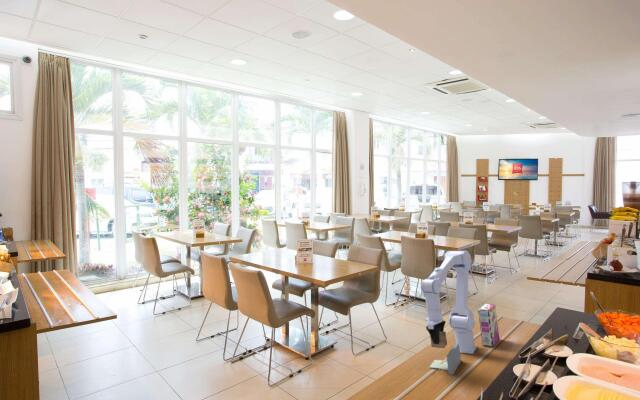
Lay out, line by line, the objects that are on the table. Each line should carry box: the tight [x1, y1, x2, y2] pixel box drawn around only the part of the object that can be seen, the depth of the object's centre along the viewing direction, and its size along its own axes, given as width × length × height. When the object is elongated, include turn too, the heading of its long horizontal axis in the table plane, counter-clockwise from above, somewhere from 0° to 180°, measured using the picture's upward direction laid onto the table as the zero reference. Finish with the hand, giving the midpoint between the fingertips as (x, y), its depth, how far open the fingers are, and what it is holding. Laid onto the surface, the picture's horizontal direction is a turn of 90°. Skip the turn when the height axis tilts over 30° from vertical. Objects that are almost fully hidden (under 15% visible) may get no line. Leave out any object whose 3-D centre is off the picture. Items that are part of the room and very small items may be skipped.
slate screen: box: [446, 343, 462, 376], centre depth 151 cm, size 14×2×7 cm, turn 147°
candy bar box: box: [477, 303, 500, 347], centre depth 172 cm, size 11×5×16 cm, turn 141°
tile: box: [429, 359, 448, 371], centre depth 154 cm, size 8×8×1 cm
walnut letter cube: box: [429, 331, 448, 349], centre depth 154 cm, size 5×5×5 cm
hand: (438, 341), depth 154 cm, fingers closed on walnut letter cube, 5 cm apart
